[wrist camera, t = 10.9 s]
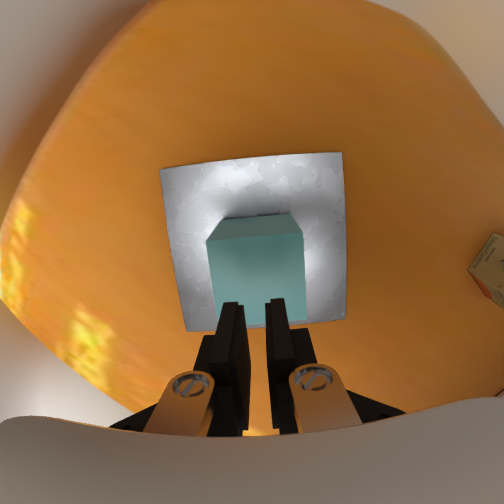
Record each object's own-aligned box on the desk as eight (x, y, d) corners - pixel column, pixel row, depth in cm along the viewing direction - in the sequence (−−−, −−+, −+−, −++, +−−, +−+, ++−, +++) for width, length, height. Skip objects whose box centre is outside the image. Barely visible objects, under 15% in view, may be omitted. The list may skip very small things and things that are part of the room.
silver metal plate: (340, 152, 22) (372, 147, 15) (344, 316, 26) (367, 362, 19) (161, 169, 22) (124, 171, 16) (187, 329, 26) (167, 377, 20)
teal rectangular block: (290, 213, 22) (303, 232, 16) (294, 279, 24) (306, 319, 17) (220, 220, 22) (205, 241, 16) (229, 285, 24) (218, 326, 18)
